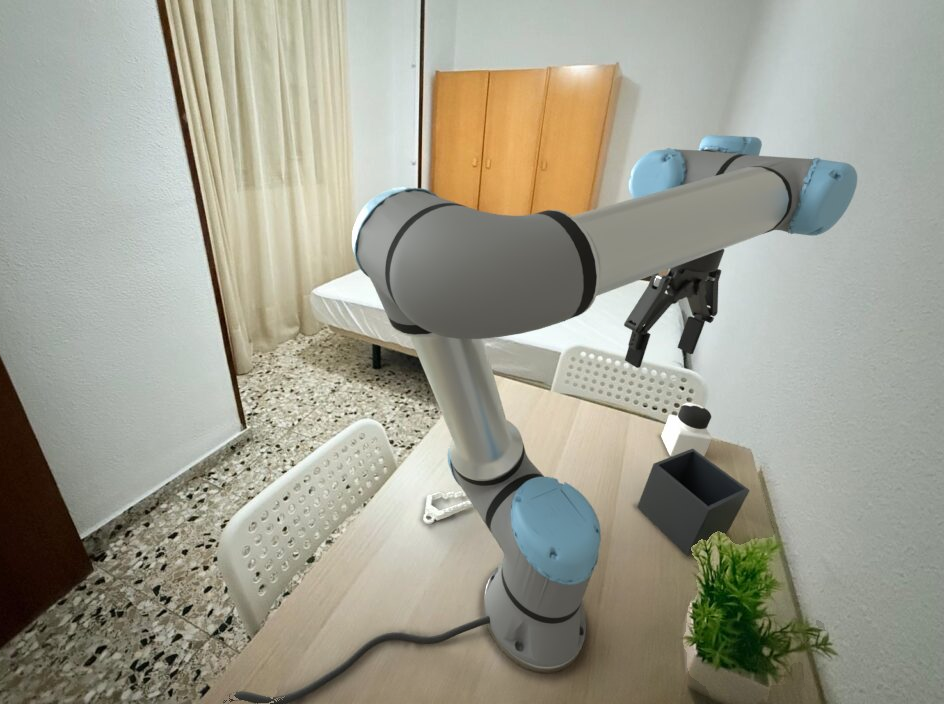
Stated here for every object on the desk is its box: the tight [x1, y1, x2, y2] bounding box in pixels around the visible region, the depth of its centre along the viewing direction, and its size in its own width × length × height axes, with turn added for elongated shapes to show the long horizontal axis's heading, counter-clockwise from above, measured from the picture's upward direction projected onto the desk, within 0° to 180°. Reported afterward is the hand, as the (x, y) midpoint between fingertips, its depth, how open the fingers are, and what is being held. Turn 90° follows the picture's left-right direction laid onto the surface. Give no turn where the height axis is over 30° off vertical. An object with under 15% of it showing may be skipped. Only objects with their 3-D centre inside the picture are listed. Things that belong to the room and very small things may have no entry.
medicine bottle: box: [660, 402, 713, 458], centre depth 94 cm, size 7×7×12 cm
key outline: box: [422, 490, 473, 525], centre depth 80 cm, size 13×5×2 cm, turn 114°
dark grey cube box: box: [636, 449, 751, 557], centre depth 76 cm, size 12×11×11 cm
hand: (659, 357), depth 73 cm, fingers open, 13 cm apart
